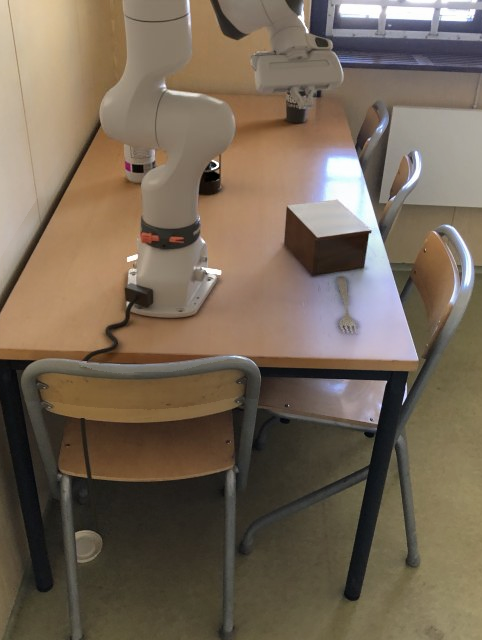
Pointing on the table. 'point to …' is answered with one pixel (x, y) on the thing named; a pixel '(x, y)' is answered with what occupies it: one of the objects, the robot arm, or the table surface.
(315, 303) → the table surface
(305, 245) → the box
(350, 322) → the fork
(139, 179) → the supplement can
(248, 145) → the table surface
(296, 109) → the coffee cup
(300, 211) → the lid
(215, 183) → the french press
